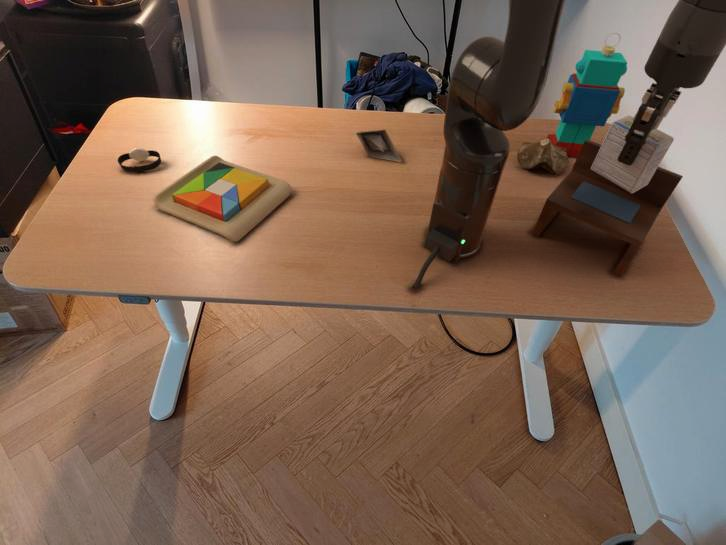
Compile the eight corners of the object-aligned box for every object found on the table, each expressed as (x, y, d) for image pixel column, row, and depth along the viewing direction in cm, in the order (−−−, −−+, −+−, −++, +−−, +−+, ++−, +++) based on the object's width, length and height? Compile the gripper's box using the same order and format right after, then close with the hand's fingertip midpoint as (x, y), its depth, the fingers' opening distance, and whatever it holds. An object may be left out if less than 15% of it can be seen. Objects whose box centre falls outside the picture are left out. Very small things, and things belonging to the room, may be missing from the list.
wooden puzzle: (218, 161, 96) (215, 146, 94) (294, 192, 90) (293, 177, 88) (152, 207, 86) (146, 191, 83) (234, 246, 80) (230, 231, 77)
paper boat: (403, 139, 103) (416, 152, 95) (387, 164, 105) (399, 179, 98) (357, 111, 98) (367, 122, 90) (342, 138, 100) (350, 151, 92)
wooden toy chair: (620, 276, 79) (662, 212, 69) (532, 233, 86) (559, 168, 75) (641, 239, 86) (683, 175, 76) (558, 202, 92) (586, 138, 82)
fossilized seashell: (573, 153, 100) (525, 145, 104) (574, 135, 94) (524, 128, 98) (561, 184, 99) (514, 175, 103) (562, 169, 93) (512, 159, 97)
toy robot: (589, 145, 107) (642, 28, 89) (595, 160, 103) (652, 41, 85) (537, 140, 107) (580, 23, 89) (542, 155, 103) (587, 36, 85)
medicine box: (647, 186, 75) (676, 137, 69) (631, 195, 73) (659, 146, 67) (605, 161, 79) (629, 113, 73) (589, 169, 78) (612, 121, 71)
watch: (162, 157, 96) (157, 141, 94) (163, 170, 93) (158, 155, 91) (121, 162, 94) (115, 147, 92) (121, 176, 91) (114, 160, 89)
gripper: (675, 18, 66) (620, 127, 79) (645, 48, 58) (590, 165, 71) (733, 33, 63) (667, 144, 76) (710, 67, 55) (641, 185, 68)
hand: (630, 153), depth 73 cm, fingers closed on medicine box, 5 cm apart
